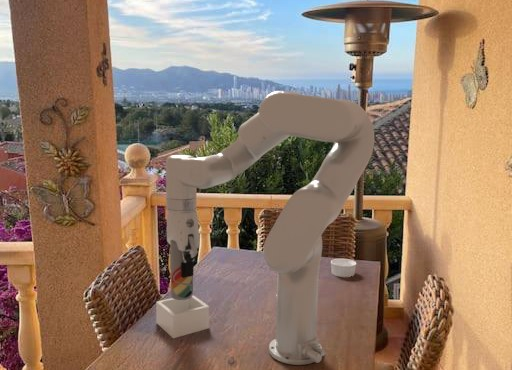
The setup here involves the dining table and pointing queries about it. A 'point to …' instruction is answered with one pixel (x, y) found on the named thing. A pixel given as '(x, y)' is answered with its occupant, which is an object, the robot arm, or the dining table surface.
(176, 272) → the lotion bottle
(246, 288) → the dining table surface
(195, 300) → the caddy
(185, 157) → the robot arm
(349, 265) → the ramekin
